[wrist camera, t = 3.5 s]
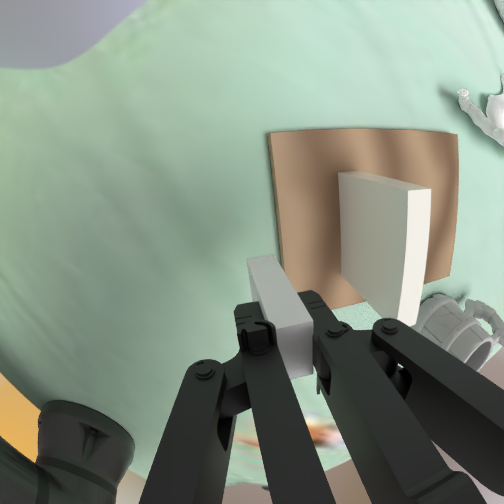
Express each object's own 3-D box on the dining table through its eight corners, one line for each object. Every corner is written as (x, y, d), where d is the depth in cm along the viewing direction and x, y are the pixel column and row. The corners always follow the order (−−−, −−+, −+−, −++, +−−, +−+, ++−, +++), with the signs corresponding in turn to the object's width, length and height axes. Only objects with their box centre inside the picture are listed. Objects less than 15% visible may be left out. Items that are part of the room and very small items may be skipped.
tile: (340, 274, 25) (394, 331, 16) (337, 172, 21) (407, 190, 13) (359, 270, 25) (417, 323, 16) (358, 170, 22) (433, 188, 13)
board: (285, 312, 27) (288, 319, 25) (267, 133, 21) (270, 133, 20) (443, 271, 28) (449, 275, 27) (449, 133, 23) (457, 134, 21)
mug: (406, 306, 29) (471, 369, 18) (470, 270, 29) (533, 311, 18) (404, 351, 32) (455, 411, 21) (465, 314, 32) (516, 358, 21)
